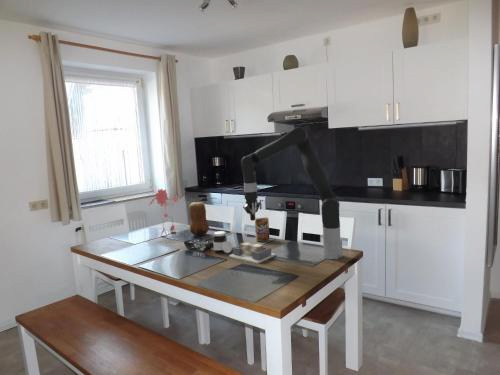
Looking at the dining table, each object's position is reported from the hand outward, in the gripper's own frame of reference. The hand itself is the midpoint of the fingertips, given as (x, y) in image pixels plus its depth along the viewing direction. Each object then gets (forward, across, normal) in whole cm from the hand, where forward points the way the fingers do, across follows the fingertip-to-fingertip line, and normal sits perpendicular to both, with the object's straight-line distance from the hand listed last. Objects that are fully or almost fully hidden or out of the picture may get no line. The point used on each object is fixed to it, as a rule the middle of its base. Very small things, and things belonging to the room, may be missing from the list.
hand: (253, 220), depth 204 cm
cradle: (+21, -2, +1) cm, 21 cm away
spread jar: (+21, -4, +23) cm, 32 cm away
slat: (+20, -2, +1) cm, 20 cm away
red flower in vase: (+20, +4, +94) cm, 97 cm away
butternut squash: (+21, +14, +65) cm, 70 cm away
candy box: (+21, +26, +16) cm, 38 cm away
